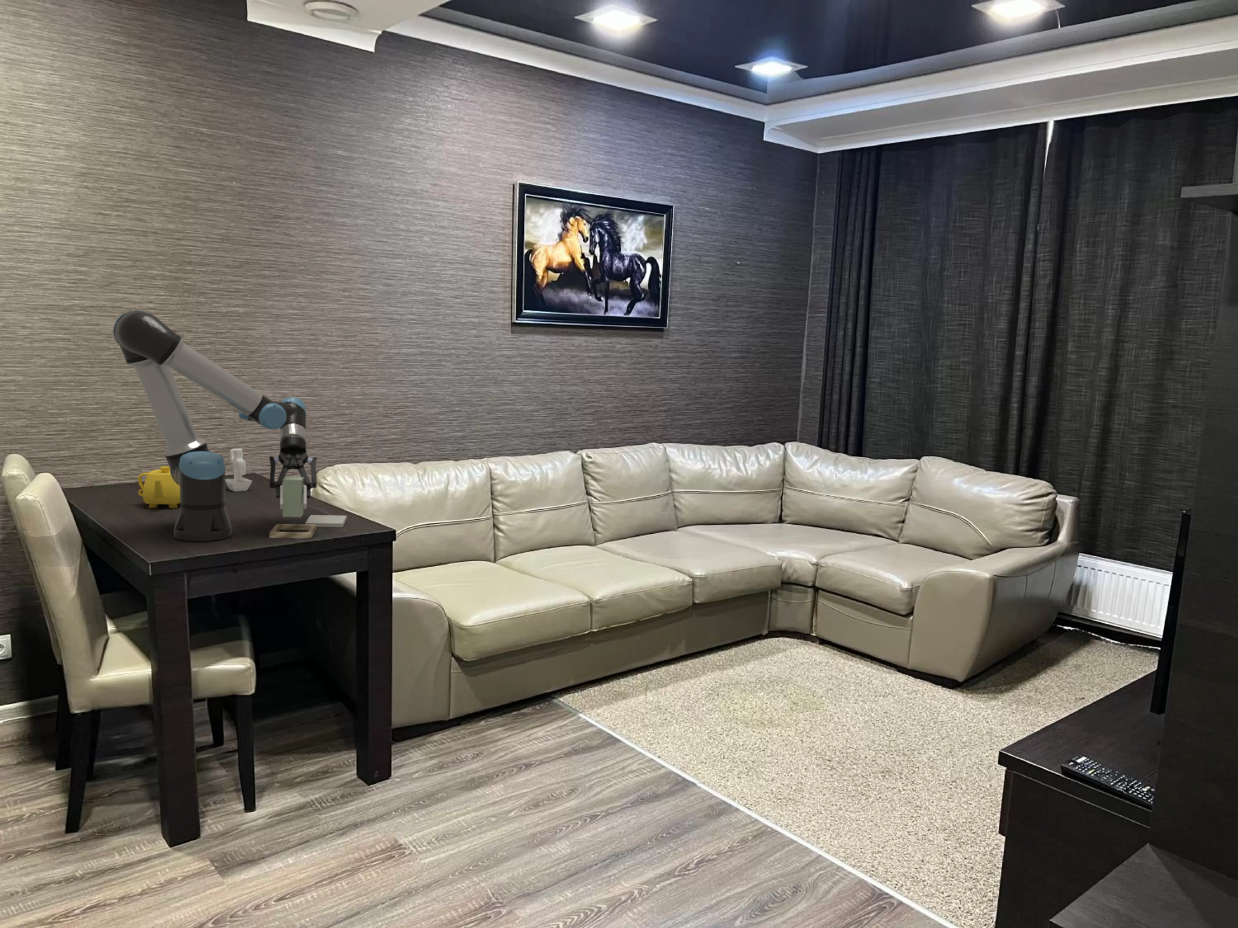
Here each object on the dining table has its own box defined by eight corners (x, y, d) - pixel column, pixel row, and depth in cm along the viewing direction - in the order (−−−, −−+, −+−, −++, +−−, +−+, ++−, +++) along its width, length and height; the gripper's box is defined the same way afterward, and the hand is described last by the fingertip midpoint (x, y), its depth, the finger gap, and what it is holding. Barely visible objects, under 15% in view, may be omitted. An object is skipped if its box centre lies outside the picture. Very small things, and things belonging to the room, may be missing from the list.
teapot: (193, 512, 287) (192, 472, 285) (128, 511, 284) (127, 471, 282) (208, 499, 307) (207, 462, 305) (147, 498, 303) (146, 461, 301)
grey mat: (305, 526, 278) (305, 522, 277) (310, 518, 288) (310, 515, 288) (342, 527, 280) (342, 523, 280) (346, 519, 290) (346, 515, 290)
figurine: (233, 493, 319) (232, 451, 317) (222, 488, 326) (222, 447, 324) (253, 491, 324) (253, 450, 322) (243, 487, 331) (242, 446, 329)
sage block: (282, 516, 265) (283, 479, 263) (285, 513, 270) (286, 476, 268) (300, 517, 266) (301, 480, 264) (303, 513, 271) (303, 477, 269)
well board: (269, 537, 262) (269, 532, 262) (276, 528, 273) (276, 523, 273) (310, 538, 264) (310, 533, 264) (316, 529, 275) (316, 524, 275)
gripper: (324, 450, 283) (326, 513, 270) (260, 449, 276) (258, 513, 263) (326, 435, 277) (328, 499, 264) (259, 434, 270) (258, 499, 258)
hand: (293, 506), depth 264 cm, fingers closed on sage block, 6 cm apart
